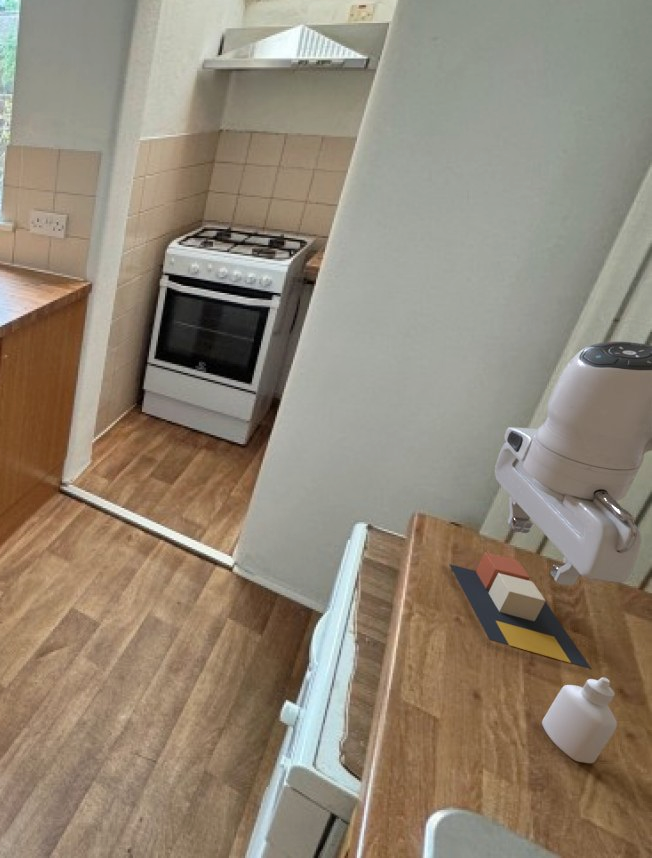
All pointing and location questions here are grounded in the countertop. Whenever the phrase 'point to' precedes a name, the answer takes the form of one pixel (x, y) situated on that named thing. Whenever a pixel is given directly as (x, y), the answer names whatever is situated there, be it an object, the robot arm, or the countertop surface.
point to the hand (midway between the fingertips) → (538, 553)
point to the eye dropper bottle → (582, 719)
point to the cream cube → (516, 597)
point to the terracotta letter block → (498, 569)
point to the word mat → (518, 624)
